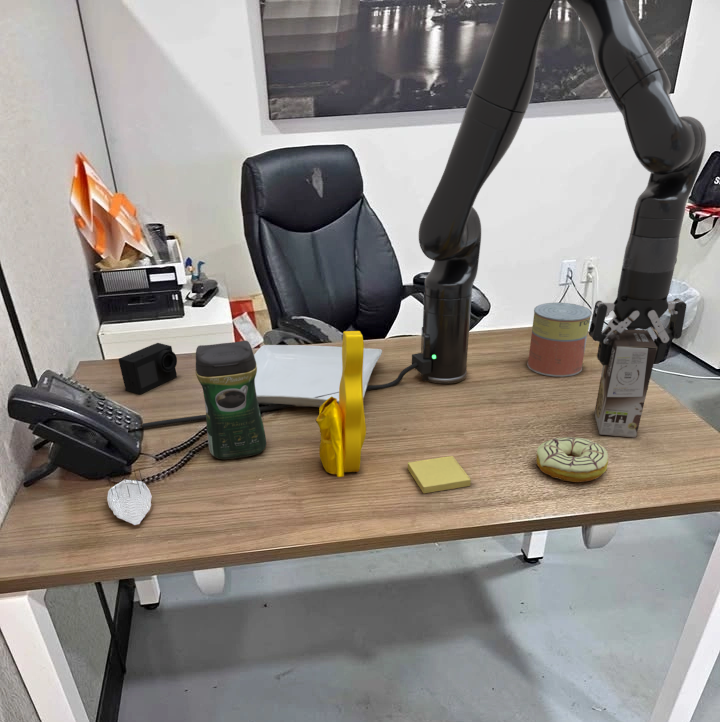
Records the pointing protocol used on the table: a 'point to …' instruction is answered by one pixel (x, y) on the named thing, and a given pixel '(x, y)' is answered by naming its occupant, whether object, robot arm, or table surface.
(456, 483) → the sticky note pad
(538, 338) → the canned food
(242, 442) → the coffee jar
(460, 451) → the table surface
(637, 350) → the coffee box
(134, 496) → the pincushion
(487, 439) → the table surface
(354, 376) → the figure statuette
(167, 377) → the digital camera
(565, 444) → the decorated donut
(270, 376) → the square plate
